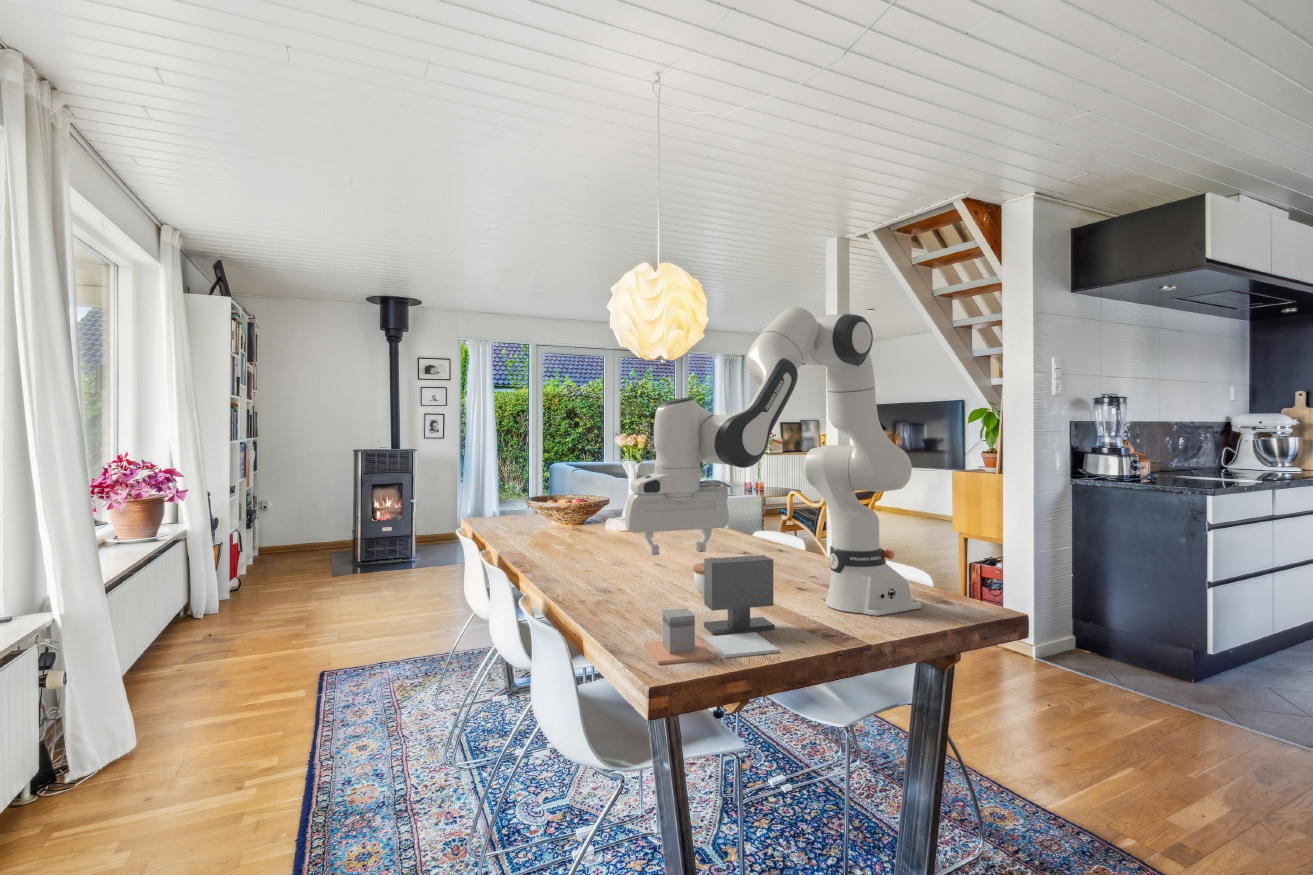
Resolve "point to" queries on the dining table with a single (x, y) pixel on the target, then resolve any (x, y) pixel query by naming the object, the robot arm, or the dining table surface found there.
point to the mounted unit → (738, 592)
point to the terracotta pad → (665, 658)
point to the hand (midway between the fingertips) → (678, 553)
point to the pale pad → (741, 645)
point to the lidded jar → (699, 577)
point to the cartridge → (678, 631)
